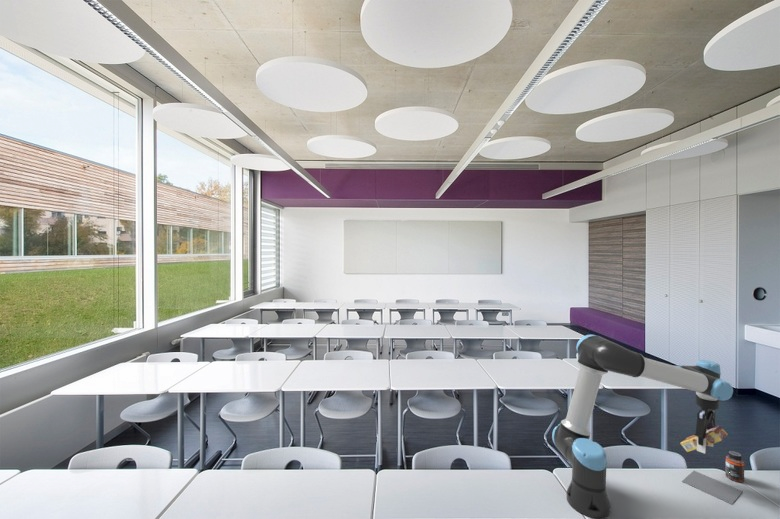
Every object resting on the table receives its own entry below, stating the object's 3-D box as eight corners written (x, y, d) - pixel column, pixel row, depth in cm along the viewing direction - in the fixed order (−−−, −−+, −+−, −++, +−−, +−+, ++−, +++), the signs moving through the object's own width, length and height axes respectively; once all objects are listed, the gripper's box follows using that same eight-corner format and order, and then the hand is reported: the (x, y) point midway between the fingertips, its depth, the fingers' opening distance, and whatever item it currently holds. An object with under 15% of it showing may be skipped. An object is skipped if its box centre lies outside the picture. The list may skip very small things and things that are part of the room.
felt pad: (681, 481, 152) (681, 481, 152) (693, 471, 160) (693, 470, 160) (731, 504, 139) (731, 503, 139) (742, 491, 146) (742, 491, 146)
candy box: (687, 453, 152) (722, 440, 143) (679, 443, 155) (712, 430, 145) (695, 447, 157) (728, 434, 148) (686, 437, 160) (719, 424, 150)
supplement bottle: (741, 477, 156) (742, 452, 155) (745, 484, 151) (747, 459, 150) (723, 472, 159) (724, 448, 159) (727, 479, 154) (728, 454, 153)
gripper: (704, 389, 159) (702, 437, 160) (686, 399, 148) (684, 451, 148) (727, 395, 153) (724, 445, 153) (709, 406, 141) (707, 460, 142)
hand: (705, 448), depth 151 cm, fingers closed on candy box, 9 cm apart
